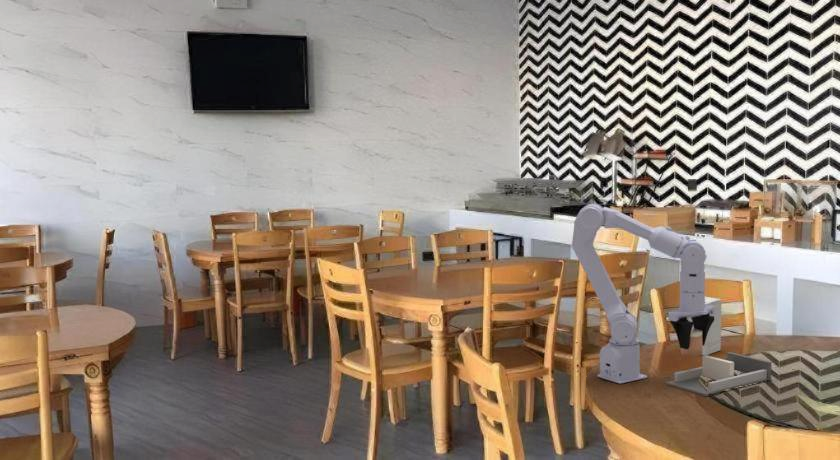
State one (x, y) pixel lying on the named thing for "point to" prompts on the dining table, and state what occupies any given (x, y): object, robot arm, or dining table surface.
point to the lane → (750, 374)
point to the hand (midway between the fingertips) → (692, 346)
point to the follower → (717, 368)
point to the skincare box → (713, 328)
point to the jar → (694, 344)
